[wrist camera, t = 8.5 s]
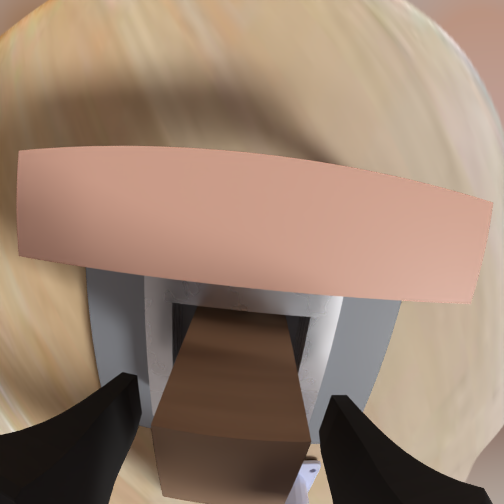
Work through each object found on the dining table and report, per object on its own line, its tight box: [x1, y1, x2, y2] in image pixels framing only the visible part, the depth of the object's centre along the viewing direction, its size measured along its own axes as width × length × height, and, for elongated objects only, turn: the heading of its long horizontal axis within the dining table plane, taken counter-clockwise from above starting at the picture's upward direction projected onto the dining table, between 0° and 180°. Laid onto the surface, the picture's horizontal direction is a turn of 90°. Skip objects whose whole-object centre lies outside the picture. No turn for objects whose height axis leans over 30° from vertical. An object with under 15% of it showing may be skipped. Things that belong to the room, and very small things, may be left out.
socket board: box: [17, 146, 493, 444], centre depth 12 cm, size 16×16×8 cm
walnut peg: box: [151, 306, 311, 504], centre depth 11 cm, size 4×4×8 cm
